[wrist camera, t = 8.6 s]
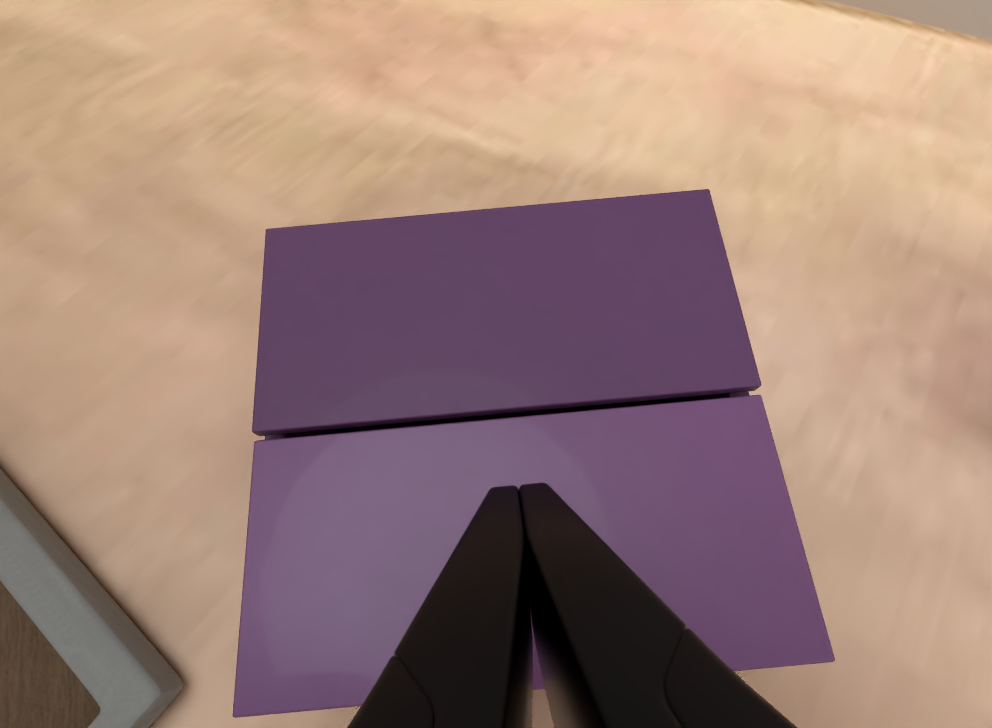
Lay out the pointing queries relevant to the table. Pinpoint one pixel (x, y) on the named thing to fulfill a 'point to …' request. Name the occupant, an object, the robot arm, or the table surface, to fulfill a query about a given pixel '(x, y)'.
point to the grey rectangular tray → (67, 636)
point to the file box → (497, 315)
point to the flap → (454, 501)
